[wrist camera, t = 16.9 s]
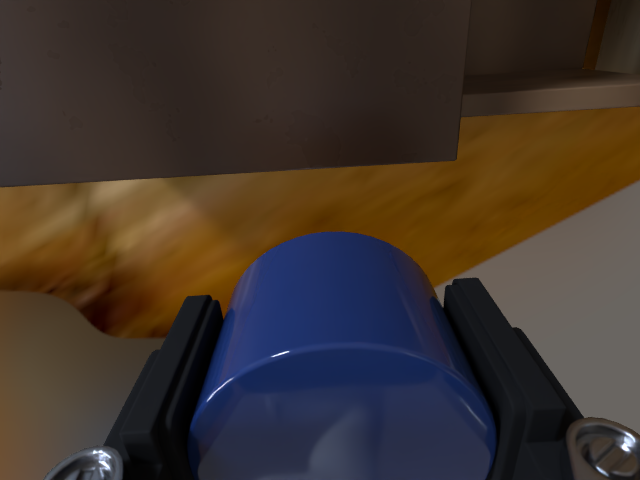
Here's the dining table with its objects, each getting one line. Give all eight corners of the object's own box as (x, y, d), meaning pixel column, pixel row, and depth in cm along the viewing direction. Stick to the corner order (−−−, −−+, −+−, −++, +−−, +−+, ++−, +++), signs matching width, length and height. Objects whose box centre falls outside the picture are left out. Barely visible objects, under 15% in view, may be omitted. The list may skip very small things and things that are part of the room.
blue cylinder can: (431, 392, 12) (481, 542, 8) (245, 403, 12) (216, 556, 9) (445, 222, 9) (523, 333, 6) (210, 237, 10) (147, 357, 6)
